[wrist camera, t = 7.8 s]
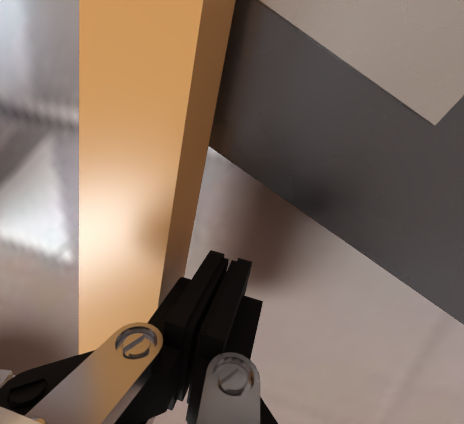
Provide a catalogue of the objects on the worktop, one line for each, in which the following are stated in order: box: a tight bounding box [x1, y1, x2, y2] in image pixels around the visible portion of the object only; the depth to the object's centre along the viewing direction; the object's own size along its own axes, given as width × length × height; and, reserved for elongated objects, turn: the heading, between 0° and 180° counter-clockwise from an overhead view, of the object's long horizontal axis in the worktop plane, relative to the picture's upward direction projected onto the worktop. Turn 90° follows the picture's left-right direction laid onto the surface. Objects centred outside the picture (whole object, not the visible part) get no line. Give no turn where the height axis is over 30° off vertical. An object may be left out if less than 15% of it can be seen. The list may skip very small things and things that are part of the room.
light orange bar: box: [79, 0, 236, 355], centre depth 10 cm, size 22×3×2 cm, turn 167°
